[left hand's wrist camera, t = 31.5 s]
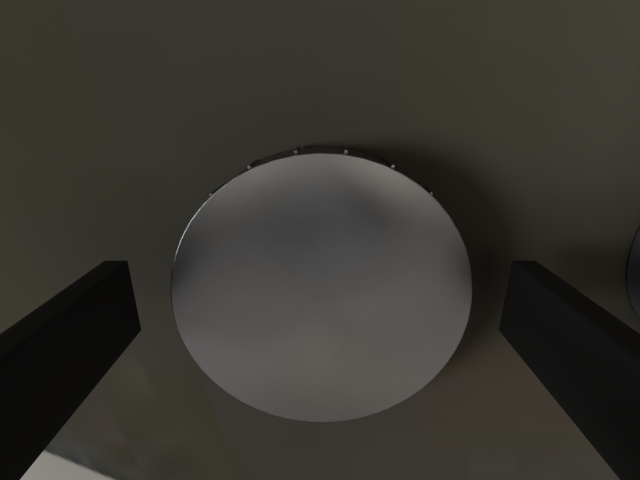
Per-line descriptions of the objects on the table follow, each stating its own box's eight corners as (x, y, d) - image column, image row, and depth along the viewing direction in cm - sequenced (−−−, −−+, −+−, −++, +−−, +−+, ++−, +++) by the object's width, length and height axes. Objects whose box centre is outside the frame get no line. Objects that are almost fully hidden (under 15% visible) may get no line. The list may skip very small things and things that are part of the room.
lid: (157, 168, 13) (124, 179, 11) (447, 121, 13) (473, 123, 10) (226, 395, 17) (211, 437, 14) (455, 366, 16) (477, 406, 14)
